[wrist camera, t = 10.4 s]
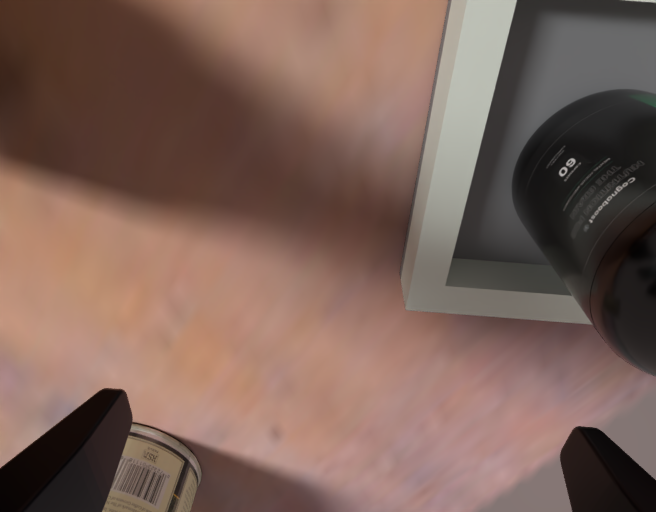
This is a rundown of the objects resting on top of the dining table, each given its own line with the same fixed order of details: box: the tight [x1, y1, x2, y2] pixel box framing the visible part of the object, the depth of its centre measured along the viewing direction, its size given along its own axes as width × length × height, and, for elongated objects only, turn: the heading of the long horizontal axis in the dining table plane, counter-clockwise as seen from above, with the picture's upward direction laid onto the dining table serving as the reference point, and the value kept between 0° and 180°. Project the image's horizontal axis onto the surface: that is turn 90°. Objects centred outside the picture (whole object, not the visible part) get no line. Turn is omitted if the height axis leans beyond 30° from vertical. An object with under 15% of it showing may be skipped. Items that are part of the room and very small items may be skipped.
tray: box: [400, 0, 656, 325], centre depth 17 cm, size 14×14×3 cm
